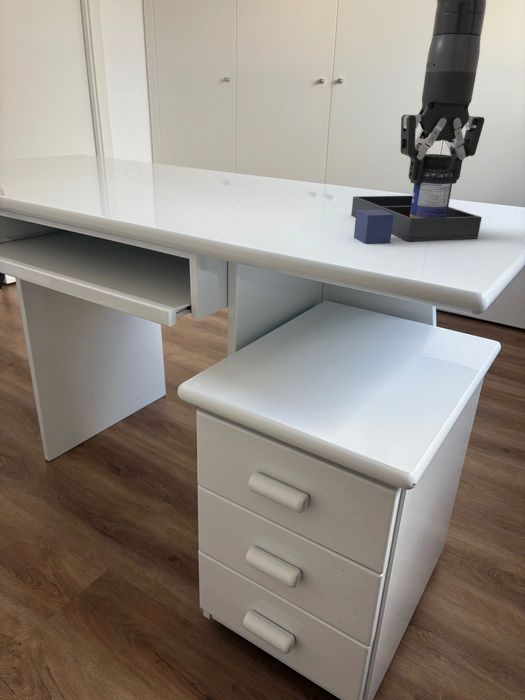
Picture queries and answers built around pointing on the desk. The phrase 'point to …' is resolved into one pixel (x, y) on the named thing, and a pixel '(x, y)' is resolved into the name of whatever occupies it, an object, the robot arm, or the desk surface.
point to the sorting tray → (420, 219)
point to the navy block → (373, 226)
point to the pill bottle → (433, 188)
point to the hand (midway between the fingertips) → (433, 182)
